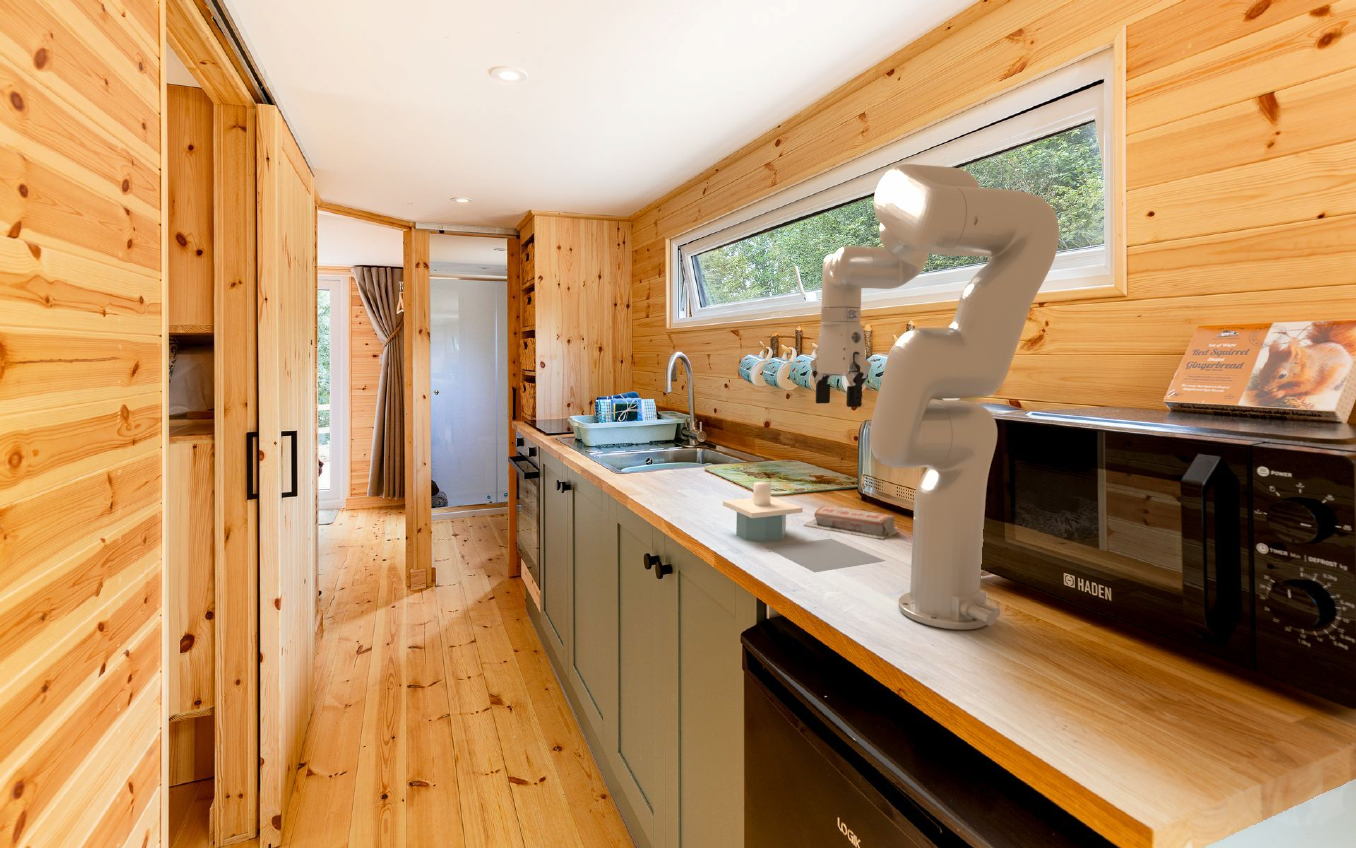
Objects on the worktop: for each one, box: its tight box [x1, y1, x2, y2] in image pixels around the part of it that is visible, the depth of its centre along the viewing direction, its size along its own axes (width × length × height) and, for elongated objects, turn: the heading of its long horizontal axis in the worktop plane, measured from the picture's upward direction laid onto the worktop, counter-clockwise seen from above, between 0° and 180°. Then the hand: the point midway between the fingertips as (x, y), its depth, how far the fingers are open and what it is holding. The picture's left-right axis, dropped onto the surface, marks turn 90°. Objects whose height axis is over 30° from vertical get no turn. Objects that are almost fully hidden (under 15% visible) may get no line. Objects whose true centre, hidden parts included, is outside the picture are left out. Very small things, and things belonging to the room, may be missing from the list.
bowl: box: [736, 511, 787, 543], centre depth 136 cm, size 10×10×6 cm
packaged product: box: [803, 504, 899, 541], centre depth 142 cm, size 18×5×10 cm
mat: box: [764, 538, 886, 573], centre depth 124 cm, size 16×16×1 cm
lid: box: [722, 481, 804, 518], centre depth 135 cm, size 12×12×6 cm
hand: (837, 404), depth 129 cm, fingers open, 9 cm apart
